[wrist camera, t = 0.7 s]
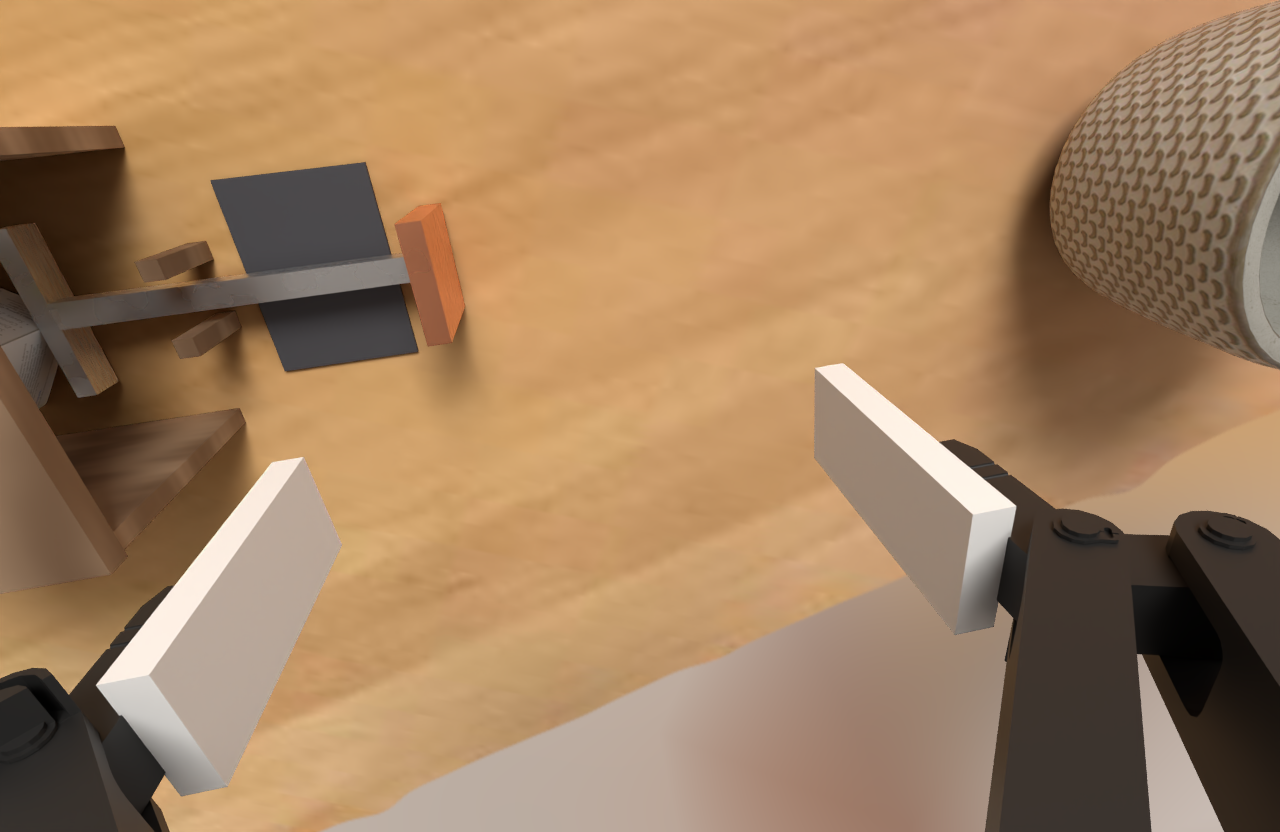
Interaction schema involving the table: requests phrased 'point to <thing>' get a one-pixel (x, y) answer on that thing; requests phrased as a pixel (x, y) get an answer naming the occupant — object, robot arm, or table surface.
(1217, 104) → the planter
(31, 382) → the light bulb box
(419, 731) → the table surface
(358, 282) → the plunger
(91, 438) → the tunnel
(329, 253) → the pad
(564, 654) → the table surface
